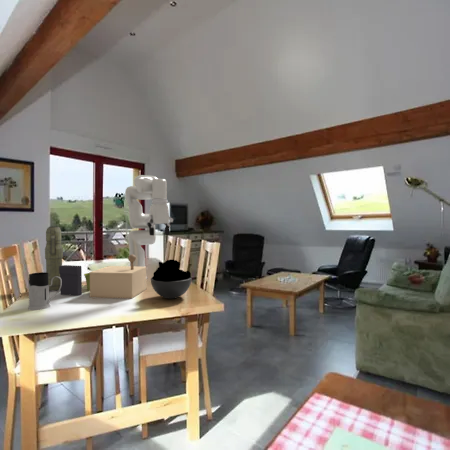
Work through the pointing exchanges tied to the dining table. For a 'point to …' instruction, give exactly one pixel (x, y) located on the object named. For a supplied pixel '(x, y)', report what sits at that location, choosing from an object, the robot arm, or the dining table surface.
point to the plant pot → (87, 280)
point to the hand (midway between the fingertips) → (159, 234)
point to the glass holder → (39, 291)
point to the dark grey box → (70, 280)
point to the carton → (117, 285)
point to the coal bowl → (170, 279)
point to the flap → (120, 268)
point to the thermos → (53, 256)
